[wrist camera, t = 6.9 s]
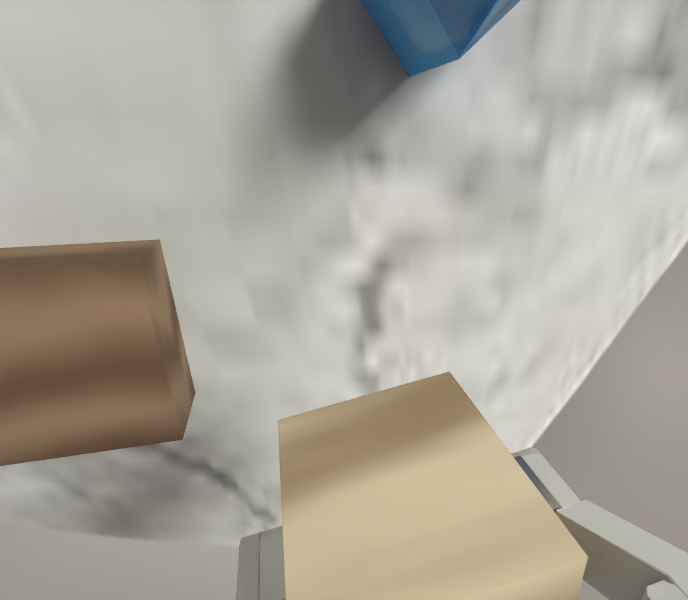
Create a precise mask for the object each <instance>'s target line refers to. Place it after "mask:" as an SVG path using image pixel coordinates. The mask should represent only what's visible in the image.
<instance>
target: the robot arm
mask: <svg viewBox="0 0 688 600" xmlns="http://www.w3.org/2000/svg"><path fill="white" fill-rule="evenodd" d="M511 455H512V456H513V457H514V459H515V460H516V461H517V463H518V464H519V465H520V467H521V468H522V469H523V471H524V472H525V473H526V475H527V476H528V477H529V479H530V480H531V481H532V483H533V484H534V485H535V487H536V488H537V489H538V491H539V492H540V493H541V495H542V496H543V497H544V499H545V500H546V501H547V503H548V504H549V505H550V507H551V508H552V509H553V511H554V512H555V513H556V515H557V516H558V517H559V519H560V520H561V521H562V523H563V524H564V525H565V527H566V528H567V529H568V531H569V532H570V533H571V535H572V536H573V537H574V539H575V540H576V541H577V543H578V544H579V545H580V547H581V548H582V549H583V551H584V552H585V553H586V555H587V556H588V559H587V563H586V567H585V571H584V575H583V580H584V581H586V582H587V583H588V584H590V585H591V586H592V587H594V588H595V589H596V590H598V591H599V592H600V593H601V594H603V595H604V596H605V597H607V598H608V599H609V600H688V553H686V552H684V551H682V550H680V549H678V548H676V547H675V546H673V545H671V544H669V543H667V542H665V541H663V540H661V539H659V538H657V537H656V536H654V535H652V534H650V533H648V532H646V531H644V530H642V529H640V528H638V527H637V526H634V525H633V524H631V523H629V522H627V521H625V520H623V519H621V518H620V517H618V516H616V515H614V514H612V513H610V512H608V511H606V510H604V509H602V508H601V507H599V506H597V505H595V504H593V503H591V502H589V501H587V500H584V501H580V500H579V499H578V498H577V496H576V495H575V494H574V493H573V492H572V490H571V489H570V488H569V487H568V486H567V485H566V483H565V482H564V481H563V480H562V479H561V477H560V476H559V475H558V474H557V473H556V472H555V471H554V469H553V468H552V467H551V466H550V465H549V463H548V462H547V461H546V460H545V459H544V457H543V456H542V455H541V454H540V453H539V452H538V451H537V450H536V449H534V448H528V449H525V450H521V451H518V452H515V453H511ZM236 600H286V590H285V568H284V546H283V526H280V527H276V528H273V529H270V530H267V531H263V532H259V533H256V534H253V535H250V536H246V537H243V538H242V539H241V542H240V546H239V560H238V578H237V593H236Z"/></svg>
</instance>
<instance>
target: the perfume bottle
mask: <svg viewBox="0 0 688 600" xmlns="http://www.w3.org/2000/svg"><path fill="white" fill-rule="evenodd" d="M361 1H362V2H363V4H364V5H365V7H366V9H367V10H368V12H369V13H370V15H371V17H372V18H373V20H374V21H375V23H376V25H377V26H378V28H379V29H380V31H381V32H382V34H383V36H384V37H385V39H386V40H387V42H388V44H389V45H390V47H391V48H392V50H393V52H394V53H395V55H396V56H397V58H398V60H399V61H400V63H401V64H402V66H403V67H404V69H405V71H406V72H407V74H408V75H409V77H410V76H413V75H416V74H419V73H421V72H424V71H427V70H430V69H432V68H435V67H438V66H441V65H443V64H446V63H449V62H452V61H454V60H457V59H460V58H461V57H462V56H463V55H464V54H465V53H466V52H467V51H468V50H469V49H470V48H471V47H472V46H473V45H474V44H475V43H476V42H477V41H478V40H479V39H480V38H482V37H483V36H484V35H485V34H486V33H487V32H488V31H489V30H490V29H491V28H492V27H493V26H494V25H495V24H496V23H497V22H498V21H499V20H500V19H501V18H502V17H503V16H504V15H506V14H507V13H508V12H509V11H510V10H511V9H512V8H513V7H514V6H515V5H516V4H517V3H518V2H519V1H520V0H361Z"/></svg>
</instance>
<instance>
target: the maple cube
mask: <svg viewBox="0 0 688 600" xmlns="http://www.w3.org/2000/svg"><path fill="white" fill-rule="evenodd" d="M278 435H279V457H280V479H281V501H282V523H283V546H284V568H285V590H286V600H577V598H578V594H579V590H580V586H581V582H582V579H583V575H584V571H585V567H586V563H587V559H588V556H587V555H586V553H585V552H584V551H583V549H582V548H581V547H580V545H579V544H578V543H577V541H576V540H575V539H574V537H573V536H572V535H571V533H570V532H569V531H568V529H567V528H566V527H565V525H564V524H563V523H562V521H561V520H560V519H559V517H558V516H557V515H556V513H555V512H554V511H553V509H552V508H551V507H550V505H549V504H548V503H547V501H546V500H545V499H544V497H543V496H542V495H541V493H540V492H539V491H538V489H537V488H536V487H535V485H534V484H533V483H532V481H531V480H530V479H529V477H528V476H527V475H526V473H525V472H524V471H523V469H522V468H521V467H520V465H519V464H518V463H517V461H516V460H515V459H514V457H513V456H512V455H511V453H510V452H509V451H508V449H507V448H506V447H505V445H504V444H503V443H502V441H501V440H500V439H499V437H498V436H497V434H496V433H495V432H494V430H493V429H492V428H491V426H490V425H489V424H488V422H487V421H486V420H485V418H484V417H483V416H482V414H481V413H480V412H479V410H478V409H477V408H476V406H475V405H474V404H473V402H472V401H471V400H470V398H469V397H468V396H467V394H466V393H465V392H464V390H463V389H462V388H461V386H460V385H459V384H458V382H457V381H456V380H455V378H454V377H453V376H452V374H451V373H450V372H446V373H443V374H439V375H436V376H432V377H429V378H425V379H422V380H418V381H415V382H411V383H407V384H404V385H400V386H397V387H393V388H390V389H386V390H383V391H379V392H376V393H372V394H369V395H365V396H361V397H358V398H354V399H351V400H347V401H344V402H340V403H337V404H333V405H330V406H326V407H323V408H319V409H315V410H312V411H308V412H305V413H301V414H298V415H294V416H291V417H287V418H284V419H280V420H278Z"/></svg>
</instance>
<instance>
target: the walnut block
mask: <svg viewBox="0 0 688 600" xmlns="http://www.w3.org/2000/svg"><path fill="white" fill-rule="evenodd" d="M194 395H195V390H194V386H193V382H192V377H191V373H190V369H189V364H188V360H187V356H186V351H185V347H184V343H183V338H182V334H181V330H180V325H179V321H178V317H177V312H176V308H175V304H174V299H173V295H172V291H171V286H170V282H169V278H168V273H167V269H166V265H165V261H164V256H163V252H162V248H161V243H160V240H144V241H125V242H106V243H88V244H69V245H50V246H32V247H13V248H0V466H3V465H10V464H17V463H24V462H31V461H38V460H45V459H52V458H59V457H66V456H72V455H79V454H86V453H93V452H100V451H107V450H114V449H121V448H128V447H135V446H142V445H148V444H155V443H162V442H169V441H176V440H182V439H183V436H184V432H185V428H186V425H187V421H188V417H189V413H190V410H191V406H192V402H193V399H194Z"/></svg>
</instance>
